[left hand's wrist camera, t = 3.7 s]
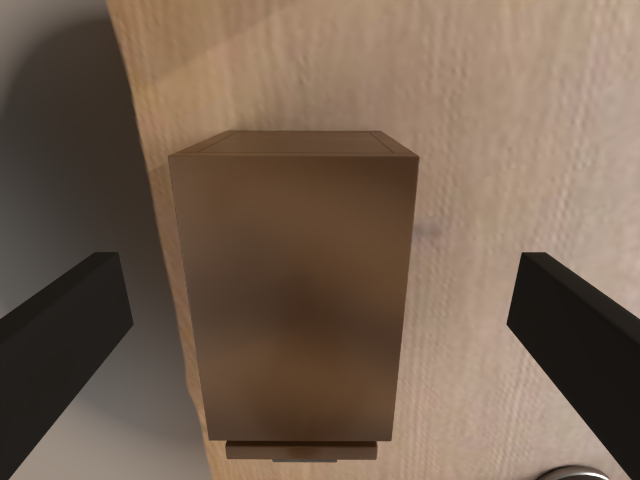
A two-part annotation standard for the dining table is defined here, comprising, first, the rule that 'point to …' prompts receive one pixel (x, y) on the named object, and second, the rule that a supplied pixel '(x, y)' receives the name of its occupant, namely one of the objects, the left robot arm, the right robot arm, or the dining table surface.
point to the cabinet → (297, 279)
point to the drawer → (302, 450)
